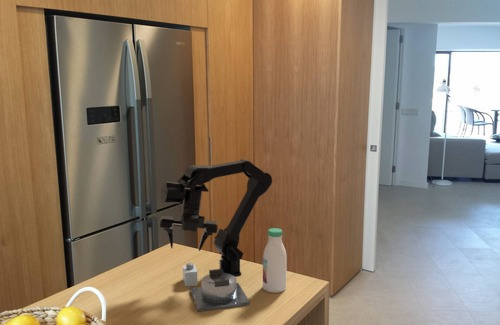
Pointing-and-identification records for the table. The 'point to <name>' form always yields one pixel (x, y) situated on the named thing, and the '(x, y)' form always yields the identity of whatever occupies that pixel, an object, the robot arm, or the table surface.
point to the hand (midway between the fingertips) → (185, 249)
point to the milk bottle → (274, 263)
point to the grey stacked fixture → (218, 292)
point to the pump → (190, 275)
